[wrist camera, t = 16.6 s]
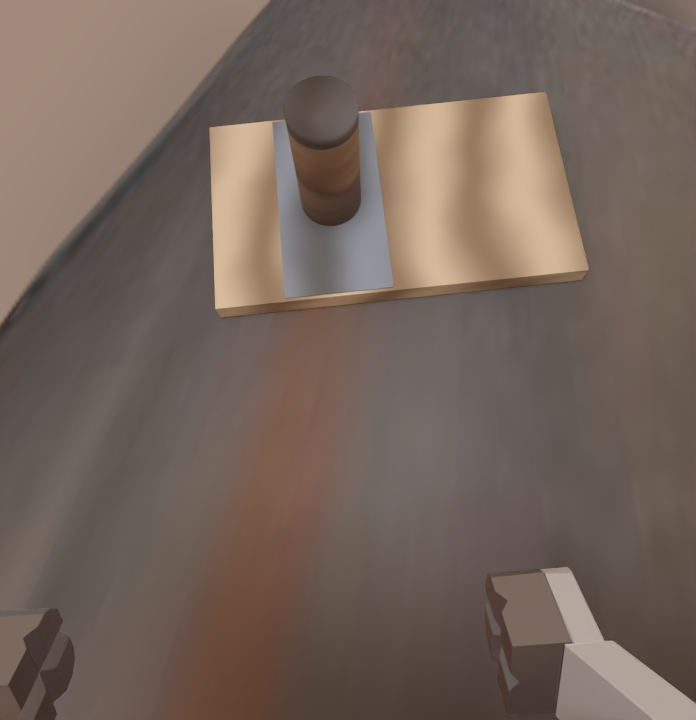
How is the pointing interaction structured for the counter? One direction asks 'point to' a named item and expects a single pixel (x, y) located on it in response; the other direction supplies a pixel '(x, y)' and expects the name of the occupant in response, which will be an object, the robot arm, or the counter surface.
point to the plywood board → (397, 210)
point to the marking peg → (325, 148)
